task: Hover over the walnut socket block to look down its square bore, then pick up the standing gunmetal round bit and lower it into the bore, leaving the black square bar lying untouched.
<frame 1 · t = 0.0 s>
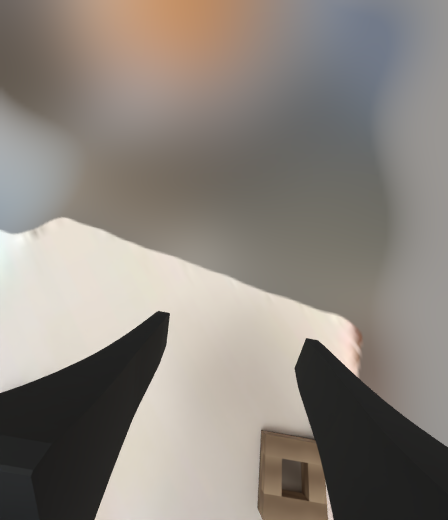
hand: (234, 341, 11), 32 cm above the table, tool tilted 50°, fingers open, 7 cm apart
socket block: (287, 471, 33), on the table
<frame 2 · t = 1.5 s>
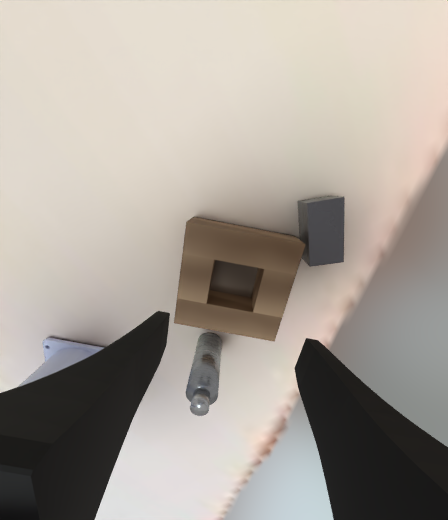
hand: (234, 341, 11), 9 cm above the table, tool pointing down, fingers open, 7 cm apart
socket block: (234, 272, 20), on the table
square bar: (313, 227, 18), on the table
round bit: (209, 342, 22), on the table
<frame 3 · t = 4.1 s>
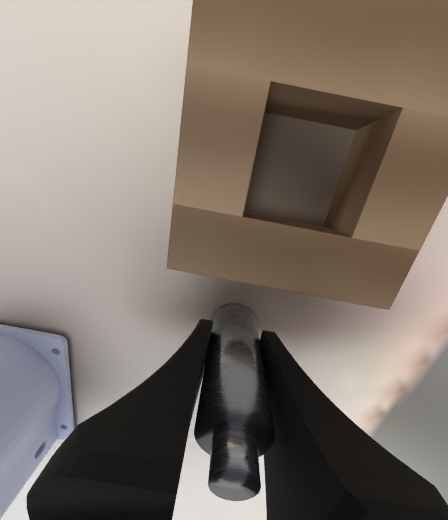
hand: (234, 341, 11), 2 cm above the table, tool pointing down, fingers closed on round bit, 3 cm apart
socket block: (291, 173, 10), on the table
round bit: (234, 322, 12), on the table, touching gripper
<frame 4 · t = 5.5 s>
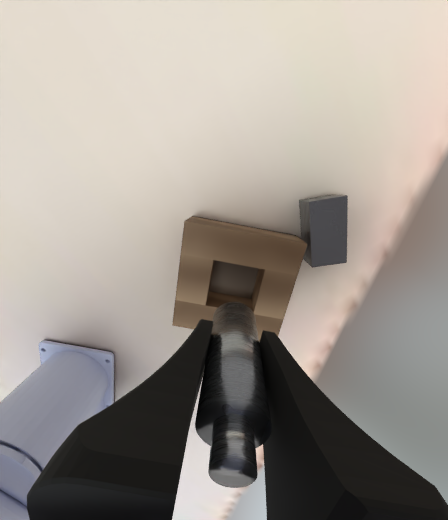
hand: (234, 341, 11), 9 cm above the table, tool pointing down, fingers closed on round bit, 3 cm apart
socket block: (234, 273, 19), on the table
square bar: (315, 227, 18), on the table
round bit: (234, 320, 13), point 7 cm above the table, touching gripper
when the fingers open (4 cm above the table, at t = 7.0 s): round bit drops 1 cm, resting on socket block.
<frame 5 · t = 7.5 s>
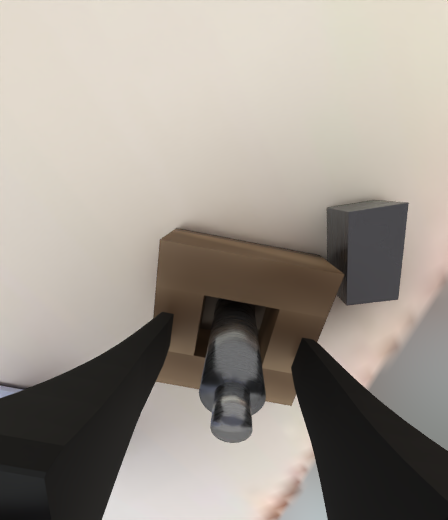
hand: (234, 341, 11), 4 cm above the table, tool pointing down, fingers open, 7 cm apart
socket block: (234, 305, 14), on the table
square bar: (347, 245, 13), on the table
round bit: (234, 310, 14), point 1 cm above the table, touching socket block
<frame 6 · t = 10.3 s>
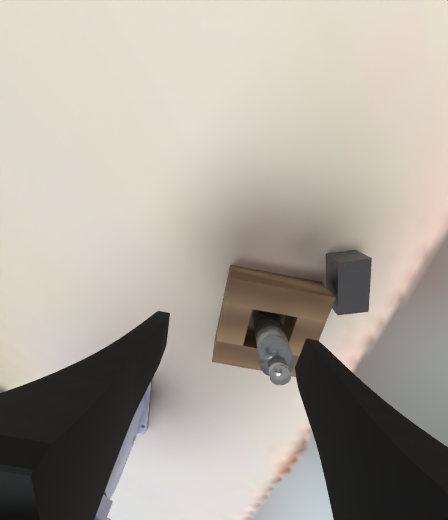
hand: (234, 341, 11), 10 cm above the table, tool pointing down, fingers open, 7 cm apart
socket block: (264, 313, 22), on the table
square bar: (339, 276, 20), on the table
round bit: (265, 316, 21), resting on socket block
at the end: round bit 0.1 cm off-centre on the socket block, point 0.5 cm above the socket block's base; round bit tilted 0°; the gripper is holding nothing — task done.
